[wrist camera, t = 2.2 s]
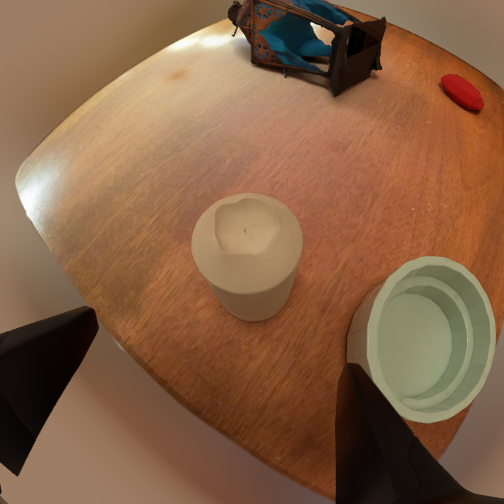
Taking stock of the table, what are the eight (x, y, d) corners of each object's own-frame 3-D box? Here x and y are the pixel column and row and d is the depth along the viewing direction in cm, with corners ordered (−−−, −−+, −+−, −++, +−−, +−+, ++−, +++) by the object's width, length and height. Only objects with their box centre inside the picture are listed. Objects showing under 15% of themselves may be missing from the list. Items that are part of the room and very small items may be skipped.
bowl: (416, 436, 16) (448, 447, 11) (314, 364, 19) (329, 363, 14) (475, 325, 19) (510, 312, 14) (391, 253, 22) (416, 225, 17)
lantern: (355, 118, 38) (237, 61, 44) (399, 42, 29) (274, -3, 35) (328, 95, 24) (176, 38, 31) (390, -11, 16) (224, -43, 22)
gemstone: (452, 107, 31) (459, 93, 28) (431, 77, 34) (436, 65, 32) (487, 119, 30) (494, 108, 28) (466, 89, 34) (471, 79, 31)
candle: (259, 337, 20) (252, 311, 11) (204, 292, 22) (160, 234, 12) (304, 281, 21) (329, 215, 12) (249, 241, 23) (238, 158, 14)
